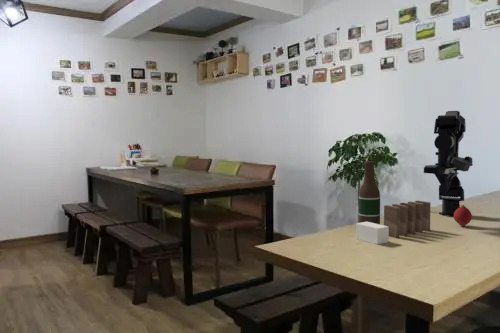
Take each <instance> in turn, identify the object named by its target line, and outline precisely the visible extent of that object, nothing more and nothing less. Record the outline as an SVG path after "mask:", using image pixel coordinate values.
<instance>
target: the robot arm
mask: <svg viewBox="0 0 500 333" xmlns="http://www.w3.org/2000/svg"><path fill="white" fill-rule="evenodd" d="M466 127H467V125H466V118H465V117H463V116H462V115H461V111H459V110H448V111H446V112H445V114H443V115H441V114H439V115H437V118H435V120H434V130H433V134H435V135H437V136H436V137H435V139H434V146H435V148H436V149H437V151H435V156H437V162H436V163H435V164H429V165H428V164H427V165H425V166H424V167H423V173H424V174H433V175H434V176H435V177H436V179H437V180H438V183H439V185H438V200H439V201H442V203H441V204H442V205H441V211H439V212H438V214H439V215H442V216H447V217H454V213H455V211H456V210H457V209H458V208H460V207H461V204H460V202H462V201H463V202H464V201H465V189H464V188H463V186H462V183H461V181H460V178H459V177H458V175H459V174H460V173H459V172H458V171H461V172H468V171H469V169H470V167H473V157H471V156H469V155H468V156H465V157H460V156H459V151H460V150H459V149H460V148H459V147H460V146H459V145H460V142H461V140H463V138H464V133H466V129H467V128H466Z"/></svg>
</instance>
